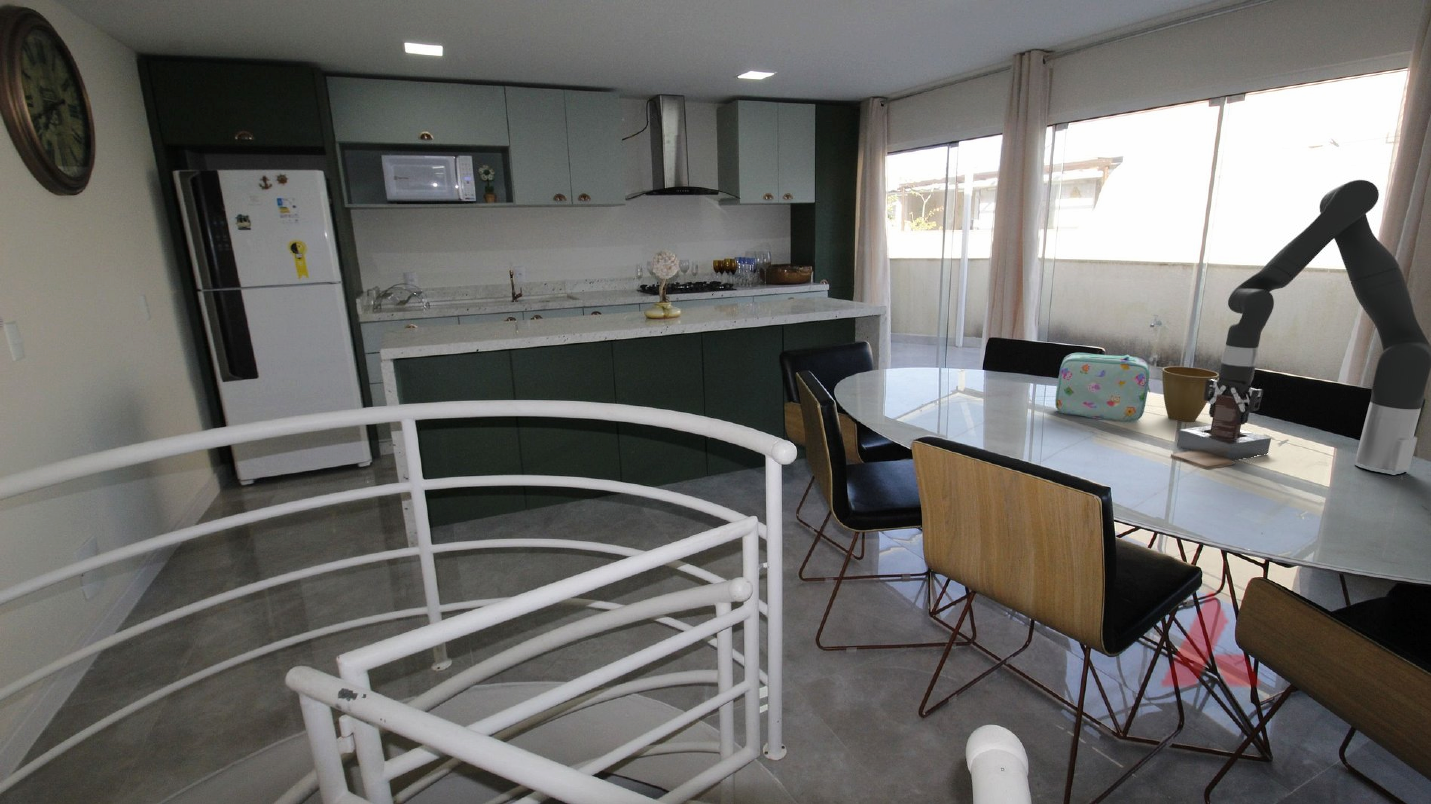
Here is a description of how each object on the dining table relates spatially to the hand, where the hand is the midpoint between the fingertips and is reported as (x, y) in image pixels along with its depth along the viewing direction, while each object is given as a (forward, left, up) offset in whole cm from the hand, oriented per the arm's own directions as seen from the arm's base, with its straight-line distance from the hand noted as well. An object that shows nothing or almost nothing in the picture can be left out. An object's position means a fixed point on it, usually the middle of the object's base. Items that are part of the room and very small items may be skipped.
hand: (1226, 420), depth 186 cm
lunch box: (+38, +3, -9) cm, 39 cm away
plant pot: (+26, -19, -9) cm, 33 cm away
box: (0, 0, -5) cm, 5 cm away
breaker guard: (0, 0, -9) cm, 9 cm away
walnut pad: (-4, +13, -9) cm, 16 cm away
